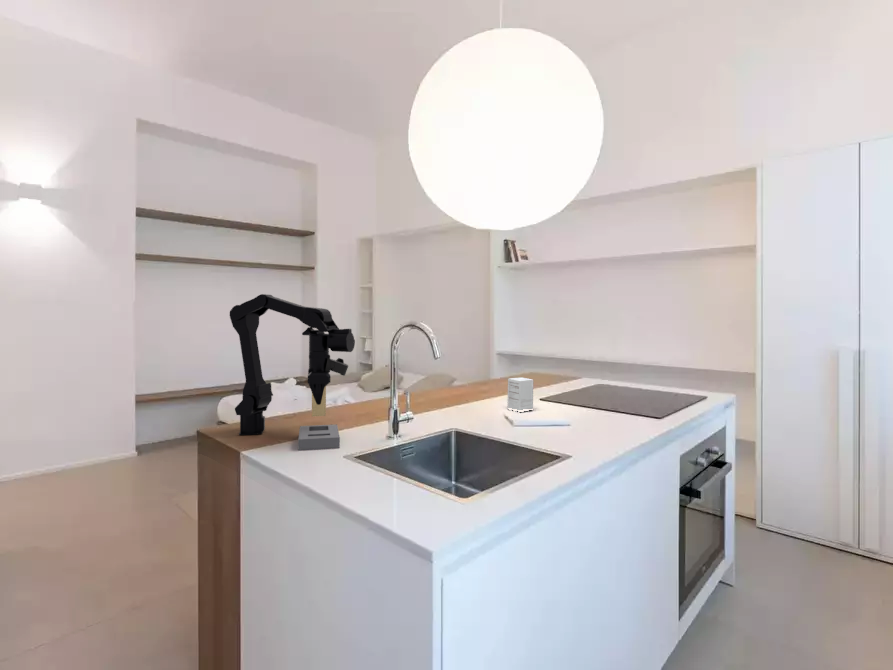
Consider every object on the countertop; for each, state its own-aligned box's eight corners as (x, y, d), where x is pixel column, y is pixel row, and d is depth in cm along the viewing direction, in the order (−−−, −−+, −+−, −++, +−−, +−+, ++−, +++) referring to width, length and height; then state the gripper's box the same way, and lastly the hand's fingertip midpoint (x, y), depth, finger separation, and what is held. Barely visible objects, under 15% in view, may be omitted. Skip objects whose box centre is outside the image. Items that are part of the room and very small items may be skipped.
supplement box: (520, 408, 196) (521, 377, 196) (533, 411, 190) (534, 379, 189) (506, 409, 192) (507, 378, 192) (519, 413, 186) (519, 380, 185)
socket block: (298, 450, 132) (298, 439, 132) (299, 435, 147) (299, 426, 147) (339, 448, 135) (339, 437, 134) (337, 433, 150) (337, 424, 150)
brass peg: (311, 416, 142) (311, 382, 141) (311, 413, 146) (311, 380, 145) (325, 416, 143) (326, 382, 143) (325, 413, 147) (325, 380, 146)
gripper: (348, 353, 137) (348, 408, 137) (344, 348, 155) (344, 397, 155) (307, 353, 134) (307, 409, 134) (308, 348, 152) (308, 398, 152)
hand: (318, 403), depth 144 cm, fingers closed on brass peg, 4 cm apart
